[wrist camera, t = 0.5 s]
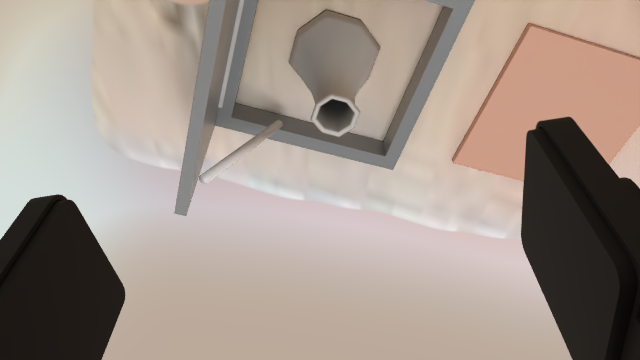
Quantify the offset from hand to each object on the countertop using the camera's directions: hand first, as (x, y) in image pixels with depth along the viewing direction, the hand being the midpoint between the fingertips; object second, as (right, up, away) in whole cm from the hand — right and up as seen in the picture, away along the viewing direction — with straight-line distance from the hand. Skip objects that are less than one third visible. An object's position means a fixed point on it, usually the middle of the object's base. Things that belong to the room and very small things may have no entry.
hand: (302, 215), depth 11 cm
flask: (+1, +11, +33) cm, 35 cm away
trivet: (+22, +6, +36) cm, 43 cm away
